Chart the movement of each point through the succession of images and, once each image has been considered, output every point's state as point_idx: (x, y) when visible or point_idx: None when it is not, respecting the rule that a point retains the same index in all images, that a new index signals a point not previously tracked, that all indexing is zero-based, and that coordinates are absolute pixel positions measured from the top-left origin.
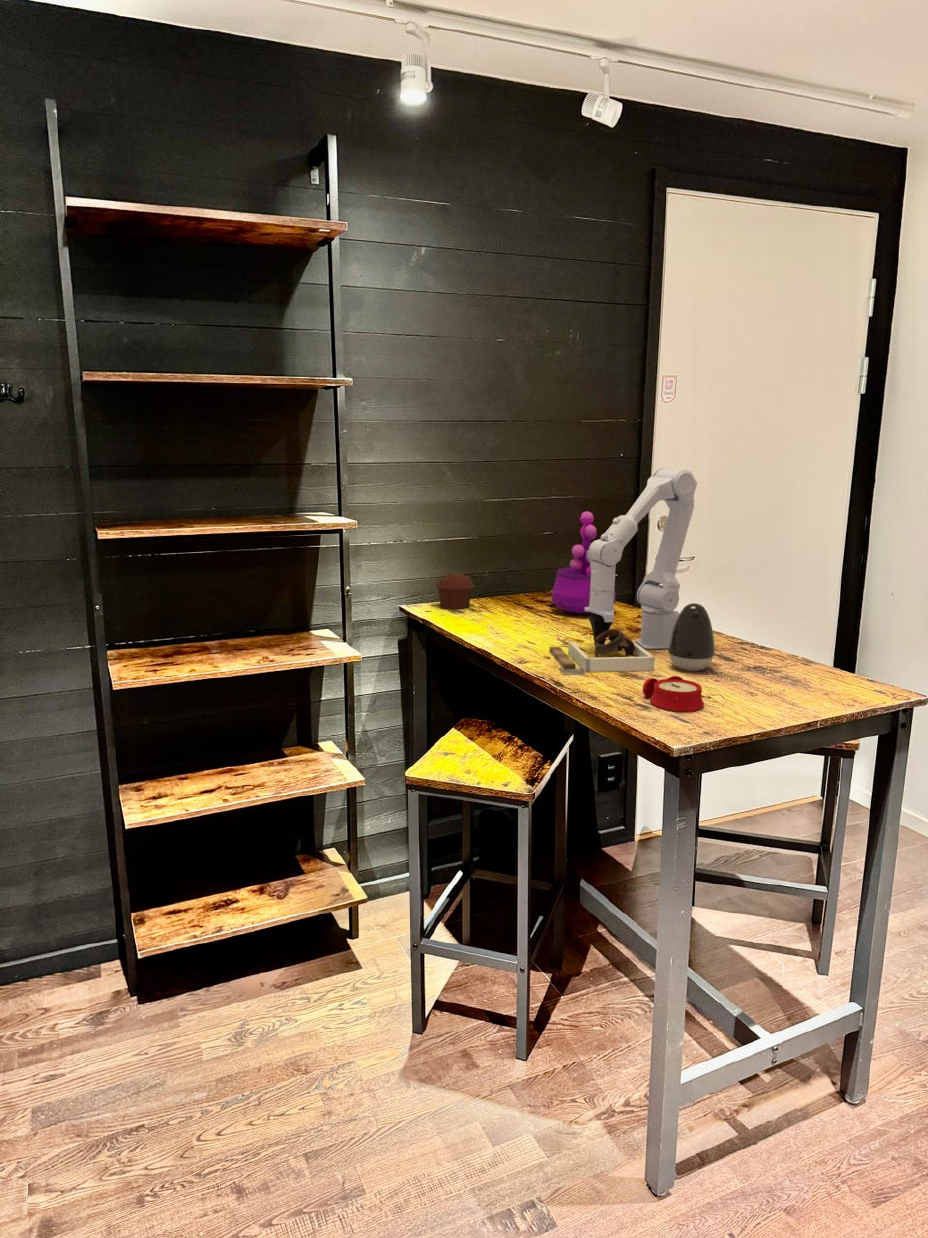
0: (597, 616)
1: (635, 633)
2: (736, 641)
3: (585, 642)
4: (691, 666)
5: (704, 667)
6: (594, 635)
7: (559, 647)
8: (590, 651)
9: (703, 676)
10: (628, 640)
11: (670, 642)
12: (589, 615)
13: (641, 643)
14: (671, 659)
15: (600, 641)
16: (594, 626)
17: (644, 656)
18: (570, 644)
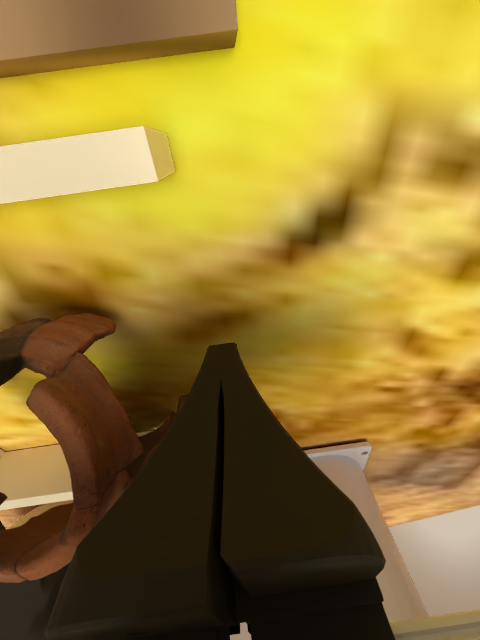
0: (247, 613)
1: (467, 442)
2: None
3: (431, 291)
4: None
5: None
6: (205, 385)
7: (202, 19)
8: (244, 297)
9: (10, 520)
10: (28, 520)
11: (5, 600)
12: (366, 565)
13: (318, 456)
14: None
15: (96, 397)
16: (140, 473)
17: (29, 482)
18: (53, 139)
